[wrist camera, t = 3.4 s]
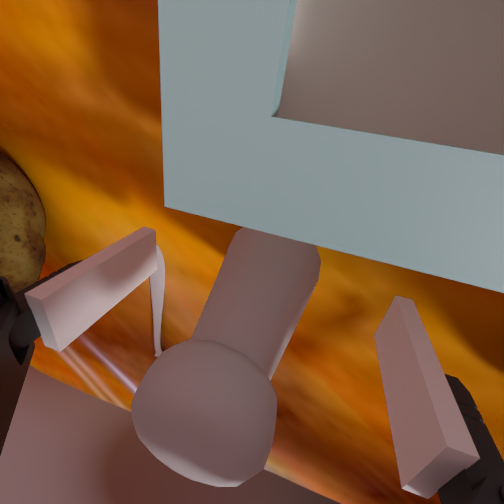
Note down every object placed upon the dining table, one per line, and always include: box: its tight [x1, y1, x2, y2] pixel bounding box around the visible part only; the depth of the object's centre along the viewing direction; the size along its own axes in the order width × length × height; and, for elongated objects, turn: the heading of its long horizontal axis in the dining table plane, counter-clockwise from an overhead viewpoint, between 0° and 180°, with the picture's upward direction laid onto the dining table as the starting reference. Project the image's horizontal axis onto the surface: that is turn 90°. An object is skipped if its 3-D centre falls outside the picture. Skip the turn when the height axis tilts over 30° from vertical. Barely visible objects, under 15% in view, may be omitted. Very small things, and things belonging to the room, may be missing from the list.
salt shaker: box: [131, 227, 321, 487], centre depth 12 cm, size 6×6×13 cm
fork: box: [150, 244, 165, 357], centre depth 25 cm, size 3×24×2 cm, turn 173°
